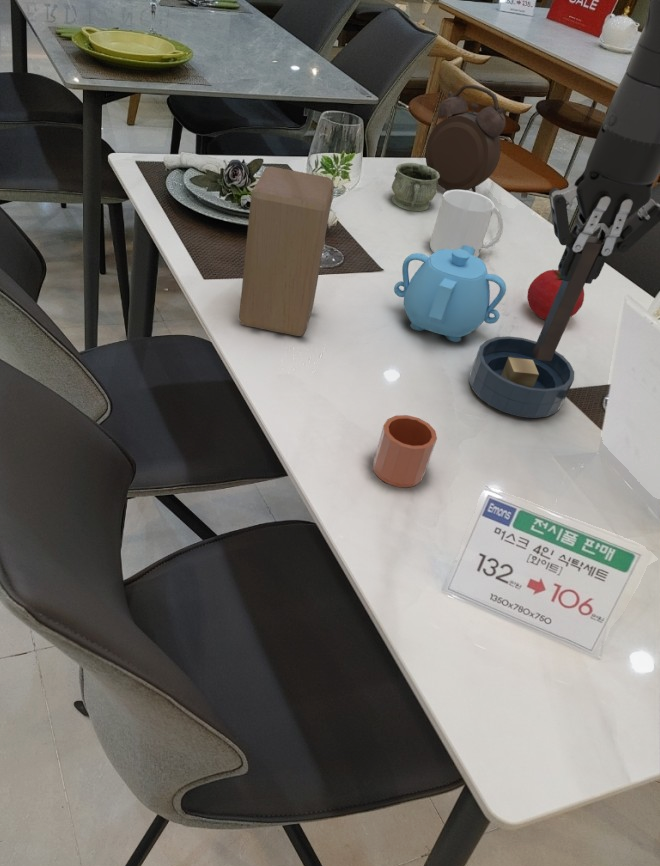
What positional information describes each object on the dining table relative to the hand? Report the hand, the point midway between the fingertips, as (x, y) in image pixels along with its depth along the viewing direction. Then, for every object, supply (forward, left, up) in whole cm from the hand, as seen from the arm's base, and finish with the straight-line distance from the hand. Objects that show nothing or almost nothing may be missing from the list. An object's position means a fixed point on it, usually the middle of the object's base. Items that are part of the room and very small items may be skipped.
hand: (574, 278), depth 93 cm
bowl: (0, -3, -19) cm, 20 cm away
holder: (+19, +16, -19) cm, 31 cm away
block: (0, -4, -19) cm, 19 cm away
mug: (0, -47, -19) cm, 51 cm away
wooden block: (+34, -17, -19) cm, 43 cm away
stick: (0, 0, -11) cm, 11 cm away
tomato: (-11, -27, -19) cm, 35 cm away
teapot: (+8, -21, -19) cm, 30 cm away
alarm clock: (-3, -76, -19) cm, 79 cm away
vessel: (+7, -67, -19) cm, 70 cm away
